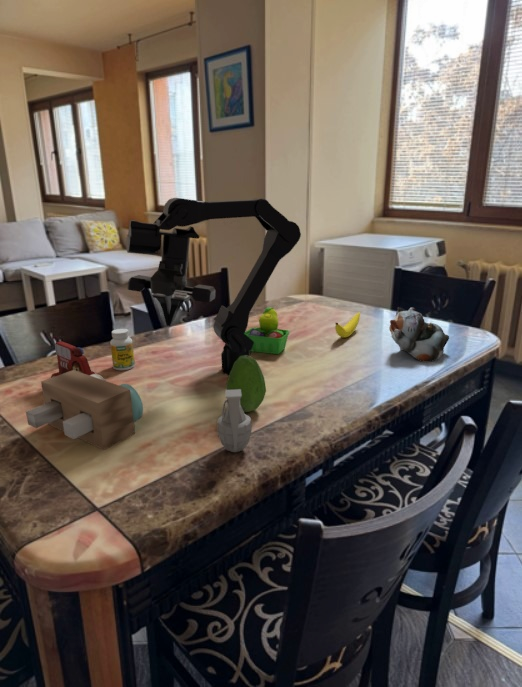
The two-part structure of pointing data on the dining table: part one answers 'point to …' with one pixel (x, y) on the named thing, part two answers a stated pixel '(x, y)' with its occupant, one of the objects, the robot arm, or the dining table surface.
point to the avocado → (247, 382)
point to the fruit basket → (268, 334)
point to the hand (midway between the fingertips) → (169, 325)
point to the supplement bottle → (122, 350)
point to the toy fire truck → (71, 359)
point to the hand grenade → (234, 423)
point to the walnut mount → (86, 407)
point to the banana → (348, 327)
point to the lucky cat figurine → (417, 335)
